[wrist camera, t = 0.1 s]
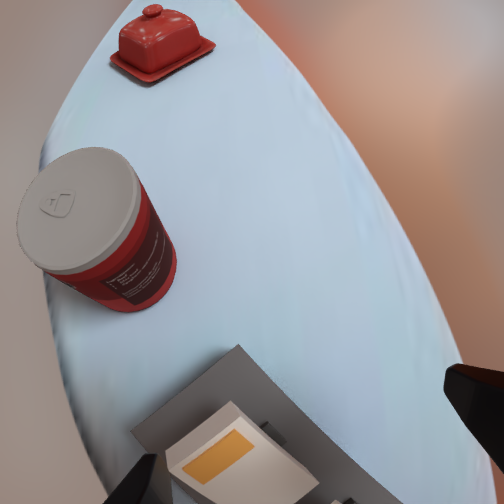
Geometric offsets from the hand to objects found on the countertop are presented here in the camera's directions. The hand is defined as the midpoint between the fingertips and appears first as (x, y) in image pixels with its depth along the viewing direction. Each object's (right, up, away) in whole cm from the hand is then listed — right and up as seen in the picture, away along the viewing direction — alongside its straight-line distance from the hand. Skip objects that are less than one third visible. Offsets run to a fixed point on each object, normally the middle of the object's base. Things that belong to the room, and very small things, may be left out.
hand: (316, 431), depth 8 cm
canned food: (-12, +4, +17) cm, 21 cm away
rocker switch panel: (+4, -15, +10) cm, 19 cm away
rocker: (-2, -6, +6) cm, 9 cm away
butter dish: (-14, +31, +28) cm, 45 cm away
